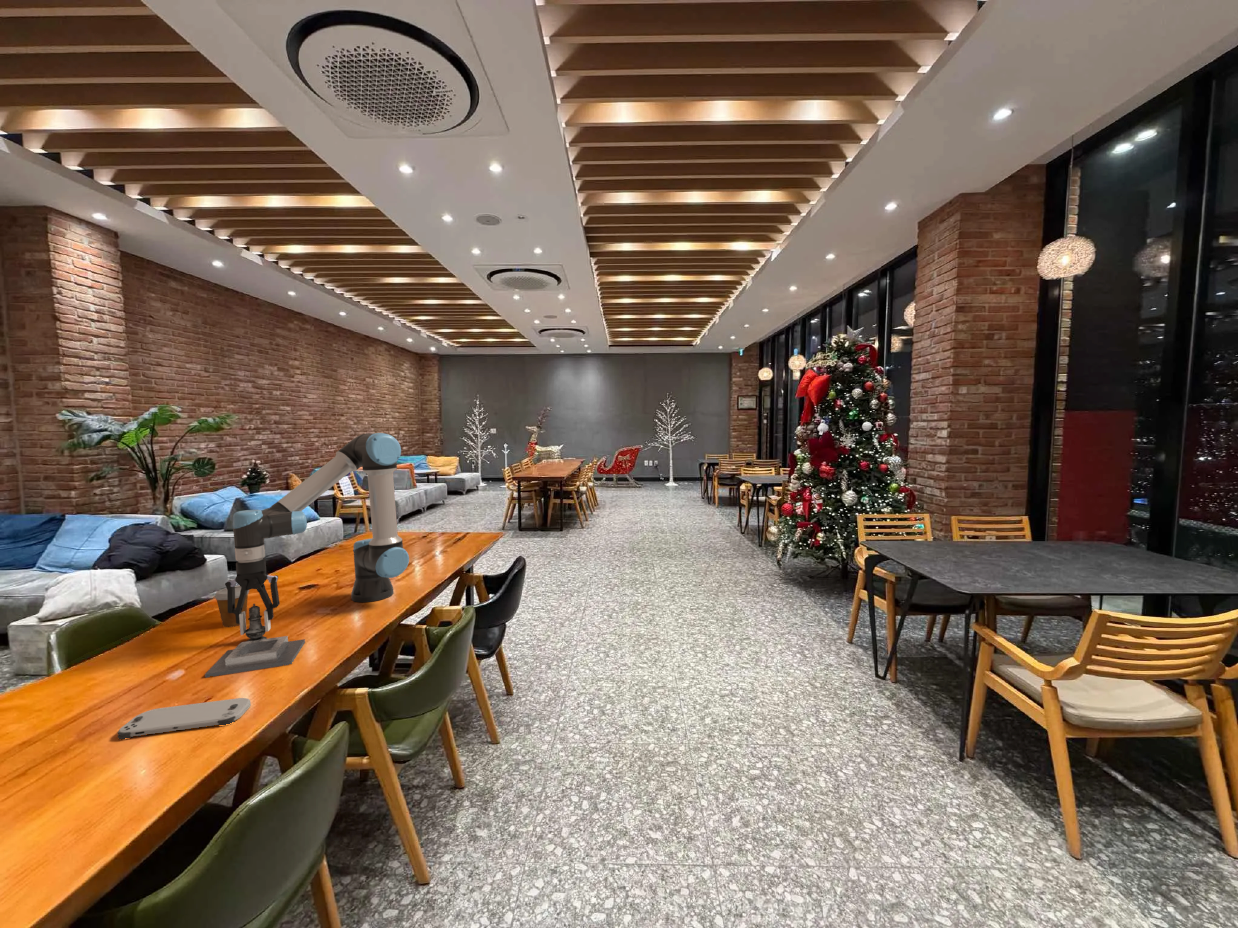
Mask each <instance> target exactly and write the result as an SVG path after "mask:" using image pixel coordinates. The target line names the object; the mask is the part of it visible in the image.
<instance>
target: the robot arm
mask: <svg viewBox="0 0 1238 928" xmlns="http://www.w3.org/2000/svg"><path fill="white" fill-rule="evenodd" d="M401 454H402V447H401V444H400V443H399V441H398V439H396V438H395V436H392V435H391V434H388V433H383V432H377V433H362V434H360V435H357V436H356V437H354V438H352V440H350V441H349V442H347V444H345V445H344V446H343V447H341V448H340V449H338V450H337V451H336V452H335V456H334V457H333V458H331V459H330V460H329V461H328V462H327V463H325V464H324V465H322V467H320V468H319V469H318V470H316V471H315V472H313V473H312V474H311V475H309V477H307V478H305V480H303V481H302V482H301V483H300V484H298V485H297V486H296V487H294V489H292V490H290V491H289V492H288V493H287V494H286V495H284V496H283V497H282V498H280V499H279V500H278V501H276V502H275V503H273V504H272V505H271V506H270V507H267V508H263V509H262V510H261V509H246V510H239V511H236V512H234V513H233V516H232V530H233V540H234V541H233V542H234V543H233V544H234V555H235V556H234V557H235V561H236V563H235V572H236V577H235V578H234V579H229V580H228V581H226V582H225V583H224V586H225V588H227V603H228V613H234V614H235V616H236V624H240V625H239V630H240V631H239V632H240V636H244V635H246V633H244V631H245V630H247V621H246V620H247V617H246V618H245V612H242V609H243V605H244V602H245V598H246V595H247V591H248V590H249V591H250V590H256V591H257V592H258V594H259V596H260V598H261V601H262V602H263V605H264V607H265V610H264V611H263V614H264V615H263V616H264V617H263V618H264V626H265V633H266V632H269V631H270V630H271V628H272V627H271V626H272V625H271V620H273V619H274V609H275V608H277V607H278V606H279V605H280V604H281V603H280V602H281V601H280V597H279V596H280V595H279V590H278V580H279V576H278V575H269V574H268V572H267V566H266V565H267V564H266V563H267V561H266V558H265V557H266V549H265V548H266V547H265V539H271V538H277V537H285V536H291V535H297V534H302V533H304V532H305V531H306V530H307V527H308V521H307V520H308V519H307V517H306V516H307V515H306V514H305V512H304V510H305V509H306V508H307V507H308V506H310V505H311V504H312V503H313V502H315V501H316V500H317V499H319V498H320V497H321V496H322V495H324V493H326V492H327V491H328V490H329V489H331V488H332V487H334V486H335V485H336V484H338V483H339V482H340V481H341V480H342V479H343V478H344V477H346V476H347V475H348V474H349V473H351V472H356V471H357V470H359V469H360V468H362V471H363V472H364V473H365V474H366V475H367V482H368V483H367V484H368V495H369V507H370V508H369V509H370V517H371V518H370V519H371V532H372V533H371V534H372V537H371V538H365V539H361V540H357V541H355V542H354V543H353V550H352V551H353V563H354V564H353V565H354V576H355V579H354V583H353V586H352V589H351V593H350V594H351V596H350V598H351V599H350V600H351V601H353V602H355V603H356V602H357V603H369V602H376V601H381V600H385V599H388V598H390V597H392V595H394V592H395V591H394V586H393V584H392V581H391V579H392V578H396V577H399V576H400V575H402V574H403V573H404V571H405V570H407V568H408V565H409V562H410V556H409V553H408V551H407V550H406V549H405V548H404V543H403V538H402V537H401V536H400V535H398V523H397V522H398V520H397V508H396V495H395V483H394V482H395V481H394V472H395V471H396V470H397V469H398V465H397V463H398V462H397V461H398V460H399V459H400V457H401ZM266 581H268V583H269V584H270V585H269V587H270V594H271V598H270V595H269V593H268V591H267V590H266V586H265V585H266V584H265V582H266ZM237 584H238V586H241V591H240V596H239V599H238V603H237V606H236V608H235V586H237Z"/></svg>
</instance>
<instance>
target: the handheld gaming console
mask: <svg viewBox="0 0 1238 928" xmlns="http://www.w3.org/2000/svg"><path fill="white" fill-rule="evenodd" d="M251 705H252V704H251V699H249V698H246V697H238V698H230V699H221V700H213V701H206V702H205V701H204V702H200V703H199V702H198V703H190V704H182V705H176V706H174V705H173V706H166V707H159V708H154V709H153V708H152V709H150V710H146V711H144V712H142V713H139V714H137V715H136V716H134V717H132V718H131V719H130V720H129V721H127V723H126V724H124V725H123V726H121V727H120V728H119V730H118V731H117V733H116V734H117V739H118V738H119V739H118V740H120V739H125V738H130V737H131V738H134V737H133V736H138V737H142V736H141V735H145V736H147V735H146V734H153V735H156V734H155V733H160V734H164V733H163V732H168V733H170V732H169V731H175V732H177V731H176V730H183V731H186V730H185V729H190V730H192V729H191V728H197V729H200V728H199V727H205V728H207V727H206V726H212V727H215V726H214V725H226V724H230V723H232V722H234V723H235V722H236V721H238V720H239V719H240V718H241V717H242V716H243V715H244V714H245V713H246V712H247V711H248V709H249V708H250V707H251ZM237 719H238V720H237ZM235 720H236V721H235ZM230 725H231V724H230ZM131 738H130V739H131Z"/></svg>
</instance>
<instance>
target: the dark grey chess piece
mask: <svg viewBox="0 0 1238 928" xmlns="http://www.w3.org/2000/svg"><path fill="white" fill-rule="evenodd" d="M248 615H249V616H248V618H247V620H248V621H249V622H248V623H249V627H248V628H246V630H245V631H244V633H245V636H246V637H247V638H248V639H247V641H255V640H262V639H268V638H267V637H266V636H264V635H265V633H266V632H265V625H263V624H262V615H261V607H260V606H258V605H256V603H253V604H252V605H251V606H250V608H248Z"/></svg>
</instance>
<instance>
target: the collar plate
mask: <svg viewBox="0 0 1238 928" xmlns="http://www.w3.org/2000/svg"><path fill="white" fill-rule="evenodd" d="M288 637H289V636H288V635H284V636H278V637H271V638H267V639H262V640H255V641H248V640H246V641H242V642H240V643H239V644H238V645H237V646H236V647H235V648H233V649H227V650H226V651H225V652H224V654H223V655H222V656H221V657H220V658H219V659H217V661H216V662H215V663H214V664H213V665H212V666H211V667H210V668H209V669H208V670H207V672H205V673H204V677H205V678H206V679H207V678H211V677H210V676H213V677H219V675H220V676H225V675H232V674H237V673H239V674H240V673H244V672H252V671H257V670H259V671H260V670H265V669H271V668H277V667H283V665H284V666H289V664H291V665H292V664H293V663H294V661H295V660H296V658H297V656H298V654H299V653H300V651H302V649H303V646H304V645H305V643H306V639H296V640H291V641H289V638H288ZM294 659H295V660H294ZM292 662H293V663H292Z"/></svg>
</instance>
